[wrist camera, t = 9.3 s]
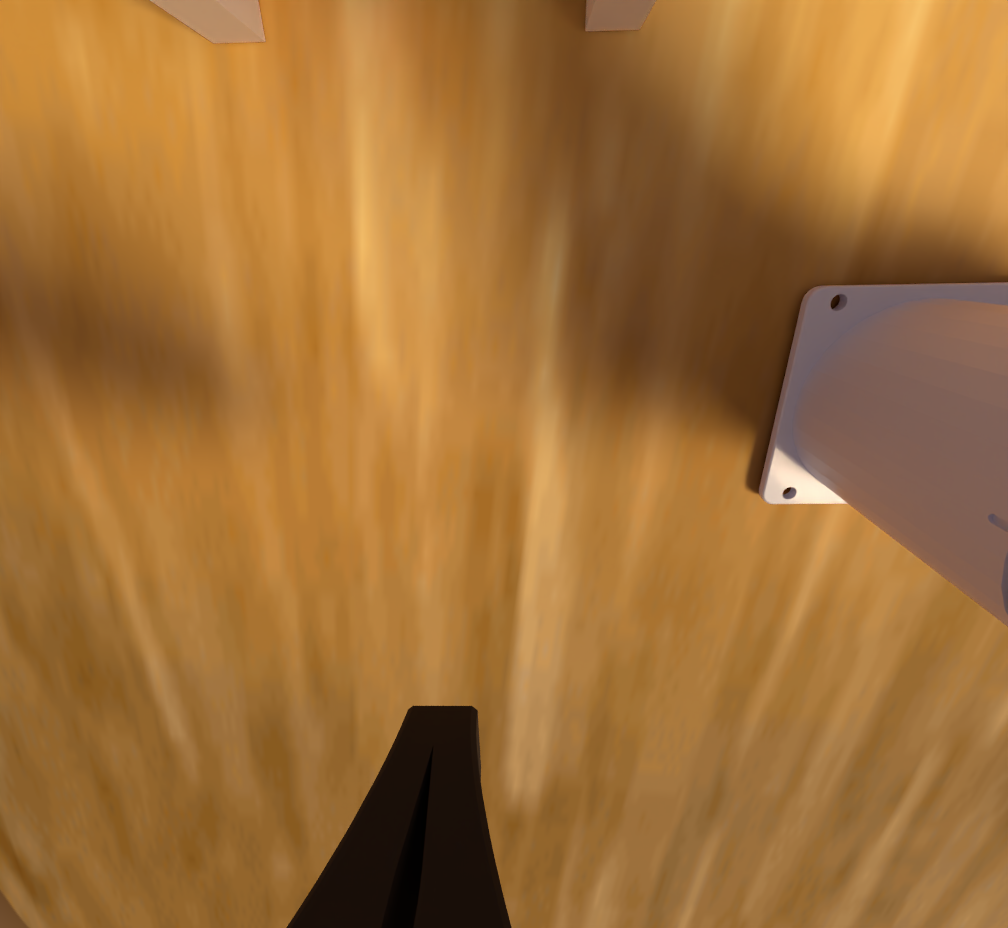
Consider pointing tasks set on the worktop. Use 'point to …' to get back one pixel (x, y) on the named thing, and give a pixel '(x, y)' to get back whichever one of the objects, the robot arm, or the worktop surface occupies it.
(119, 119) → the worktop surface
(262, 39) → the dock
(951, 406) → the robot arm
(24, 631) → the worktop surface
